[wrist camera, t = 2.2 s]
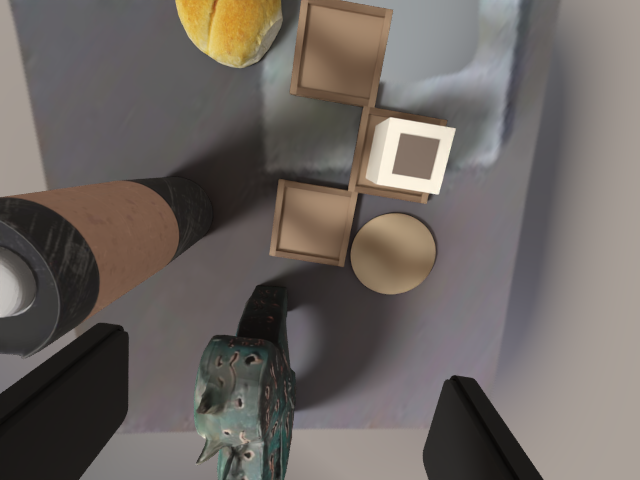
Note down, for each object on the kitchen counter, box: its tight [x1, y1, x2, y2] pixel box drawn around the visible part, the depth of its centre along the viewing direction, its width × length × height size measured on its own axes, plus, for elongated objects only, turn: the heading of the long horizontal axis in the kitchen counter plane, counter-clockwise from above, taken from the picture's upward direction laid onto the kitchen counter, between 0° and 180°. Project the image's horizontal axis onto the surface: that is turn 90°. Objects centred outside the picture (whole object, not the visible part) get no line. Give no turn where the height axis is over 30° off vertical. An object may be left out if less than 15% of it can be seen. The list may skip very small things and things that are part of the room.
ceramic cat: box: [194, 286, 296, 480], centre depth 28 cm, size 20×6×20 cm, turn 178°
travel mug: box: [0, 177, 213, 359], centre depth 23 cm, size 8×8×20 cm
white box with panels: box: [366, 117, 456, 195], centre depth 27 cm, size 5×5×7 cm
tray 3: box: [348, 106, 447, 204], centre depth 31 cm, size 8×8×1 cm
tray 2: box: [269, 179, 358, 267], centre depth 33 cm, size 8×8×1 cm
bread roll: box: [176, 0, 283, 68], centre depth 27 cm, size 8×9×4 cm
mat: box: [351, 213, 436, 294], centre depth 34 cm, size 9×9×1 cm
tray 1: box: [290, 0, 393, 108], centre depth 29 cm, size 8×8×1 cm
